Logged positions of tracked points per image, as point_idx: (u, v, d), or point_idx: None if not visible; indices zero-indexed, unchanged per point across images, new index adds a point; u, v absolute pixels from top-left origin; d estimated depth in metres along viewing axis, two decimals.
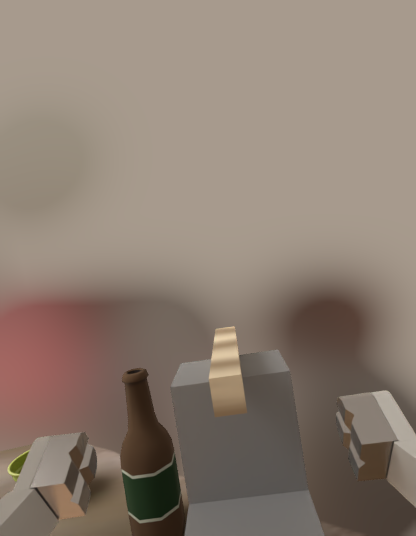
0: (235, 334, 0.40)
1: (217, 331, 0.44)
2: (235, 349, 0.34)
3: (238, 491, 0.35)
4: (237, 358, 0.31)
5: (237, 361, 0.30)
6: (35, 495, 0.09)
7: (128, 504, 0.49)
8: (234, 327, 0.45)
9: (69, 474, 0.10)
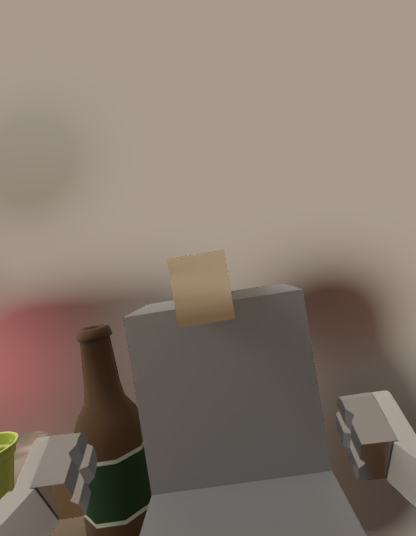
0: None
1: None
2: None
3: (226, 474, 0.23)
4: None
5: None
6: (35, 495, 0.09)
7: None
8: None
9: (69, 474, 0.10)
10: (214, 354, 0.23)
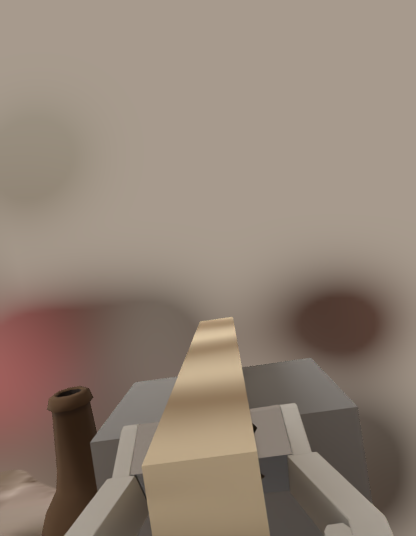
0: (234, 328, 0.21)
1: (202, 325, 0.25)
2: (234, 358, 0.15)
3: None
4: (240, 383, 0.12)
5: (241, 393, 0.11)
6: (135, 482, 0.09)
7: None
8: (232, 318, 0.26)
9: None
10: None
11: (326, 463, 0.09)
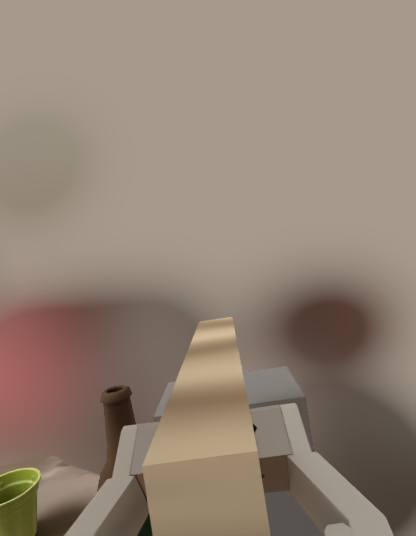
0: (233, 328, 0.21)
1: (201, 325, 0.25)
2: (234, 358, 0.15)
3: None
4: (240, 383, 0.12)
5: (241, 393, 0.11)
6: (135, 482, 0.09)
7: None
8: (231, 318, 0.26)
9: None
10: None
11: (326, 463, 0.09)
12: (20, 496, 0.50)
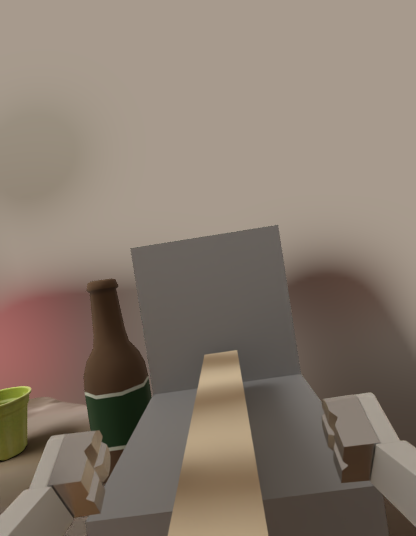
0: (239, 369, 0.21)
1: (207, 360, 0.25)
2: (243, 417, 0.15)
3: None
4: (251, 458, 0.12)
5: (252, 474, 0.11)
6: (52, 493, 0.09)
7: None
8: (236, 352, 0.26)
9: (85, 472, 0.10)
10: (205, 279, 0.28)
11: None
12: (10, 402, 0.51)
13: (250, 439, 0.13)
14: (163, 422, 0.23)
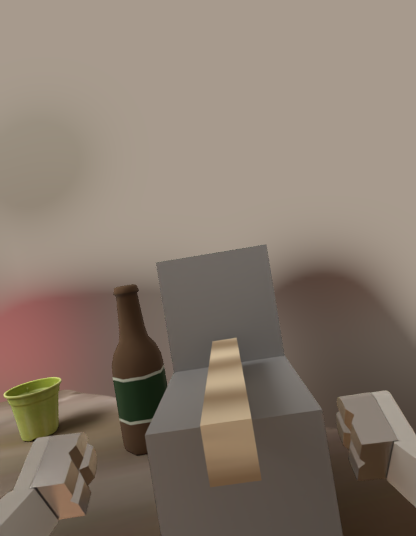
0: (238, 349, 0.31)
1: (214, 344, 0.34)
2: (239, 372, 0.24)
3: None
4: (243, 387, 0.21)
5: (243, 393, 0.20)
6: (35, 495, 0.09)
7: (119, 411, 0.51)
8: (236, 339, 0.35)
9: (69, 474, 0.10)
10: (212, 285, 0.37)
11: None
12: (45, 389, 0.60)
13: (243, 380, 0.22)
14: (184, 387, 0.32)
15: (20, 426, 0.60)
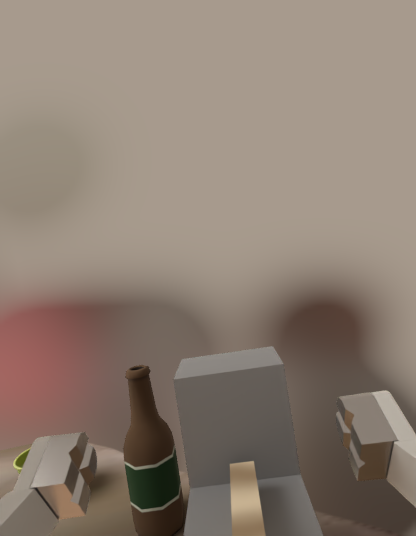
0: (258, 492, 0.31)
1: (232, 473, 0.34)
2: None
3: None
4: None
5: None
6: (35, 495, 0.09)
7: (131, 495, 0.51)
8: None
9: (69, 474, 0.10)
10: (229, 403, 0.37)
11: None
12: None
13: None
14: (203, 524, 0.32)
15: None
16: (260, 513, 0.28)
